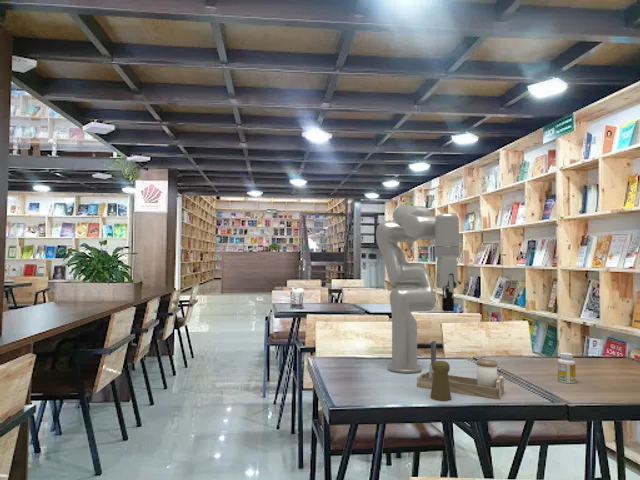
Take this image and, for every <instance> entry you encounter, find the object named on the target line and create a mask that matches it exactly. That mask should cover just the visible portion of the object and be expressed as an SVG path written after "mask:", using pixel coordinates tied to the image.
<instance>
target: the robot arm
mask: <svg viewBox="0 0 640 480" xmlns="http://www.w3.org/2000/svg"><path fill="white" fill-rule="evenodd" d="M392 219H393V220H391V221H389V220H387V221H383V222H381V223H379V224H378V225H377V227H376V230H375V238H376V243H377V246H378V249H379V251H380V253H381V255H382V258H383V259H384V264H385V269H386V274H387V277H388V280H389V283H390V285H391V286H393V287H395V288H393V289H392V290H391V291H390V293H389V304H390V310H391V363H390V364H388V365H387V369H388V370H389V371H391V372H394V373H398V374H399V373H401V374H414V373H415V374H416V373H420V372H422V367H421V365H418V359H419V358H418V323H417V321H416V319H415V317H414V315H413V313H415V312H430V311H432V310H433V309H434V307H435V306H436V296H435V291H434V288H433V284H432V282H431V277H430V275H429V271H428V269H427V268H426V266H425V265H424V264H421V263H418V262H417V263H414V262H413V263H412V262H411V263H410V262H408V261H407V259H406V255H405V252H404V251H403V250H402V248H401V247H400V246H398V245H397V244H396V243H414V242H416V241H418V240H420V239H422V240H423V239H424V240H425V239H428V240H429V239H431V240H433V239H434V257H435V258H437V259H436V272H435V273H436V276H435V277H436V278H435V281H436V283H435V286H436V288H437V289H441V297H442V298H441V305H442V306H441V309H442V311H443V312H454V311H455V306H454V305H455V303H454V302H455V300H454V292H455V291H454V289H456V288H458V286H459V285H458V284H459V279H458V278H459V274H458V273H459V272H458V259H457V258H460V218H459V216H458V215H457V214H455V213H440V214H436V216H432V214H431V211H430V210H429V208H428V207H426V206H423V205H406V204H405V205H401V206H398V207H396V208H395V209H394V210H393V212H392Z"/></svg>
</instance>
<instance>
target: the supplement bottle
mask: <svg viewBox="0 0 640 480" xmlns="http://www.w3.org/2000/svg"><path fill="white" fill-rule="evenodd" d="M573 355H574V354H573V353H570V352H559V357H560V358H559V359H557V379H558V381H559V382H560V383H563V384H575V383H576V381H577V380H576V379H577V377H576V376H577V375H576V361H575V360H573V358H574V356H573Z"/></svg>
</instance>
